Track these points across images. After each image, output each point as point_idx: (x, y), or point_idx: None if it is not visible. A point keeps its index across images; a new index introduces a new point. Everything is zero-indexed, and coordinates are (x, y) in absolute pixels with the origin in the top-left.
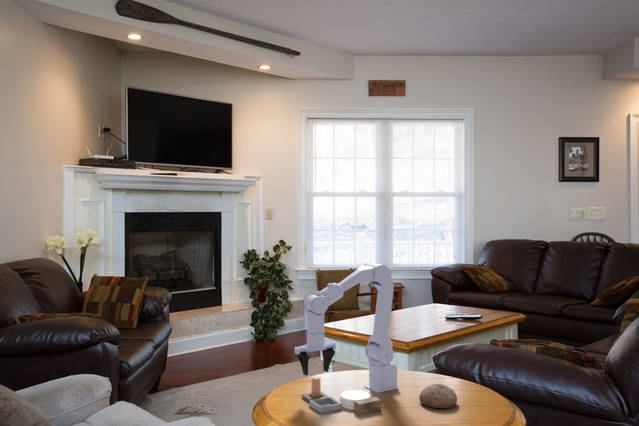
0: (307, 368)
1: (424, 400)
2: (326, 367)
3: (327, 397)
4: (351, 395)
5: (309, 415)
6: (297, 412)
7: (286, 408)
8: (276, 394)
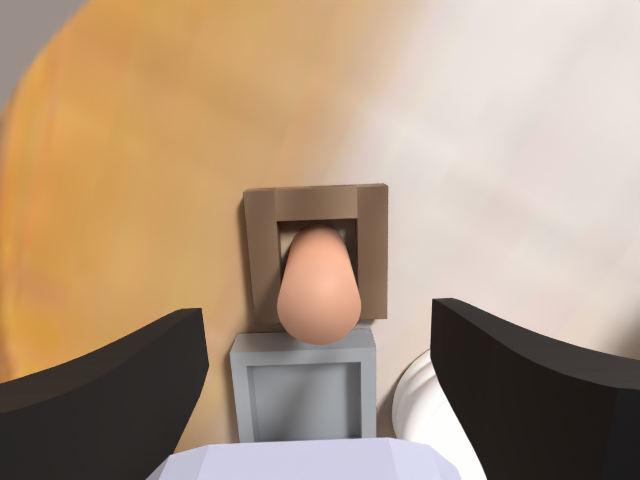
0: (173, 435)
1: None
2: (448, 384)
3: (350, 356)
4: (470, 445)
5: (194, 427)
6: None
7: (108, 299)
8: (107, 31)
